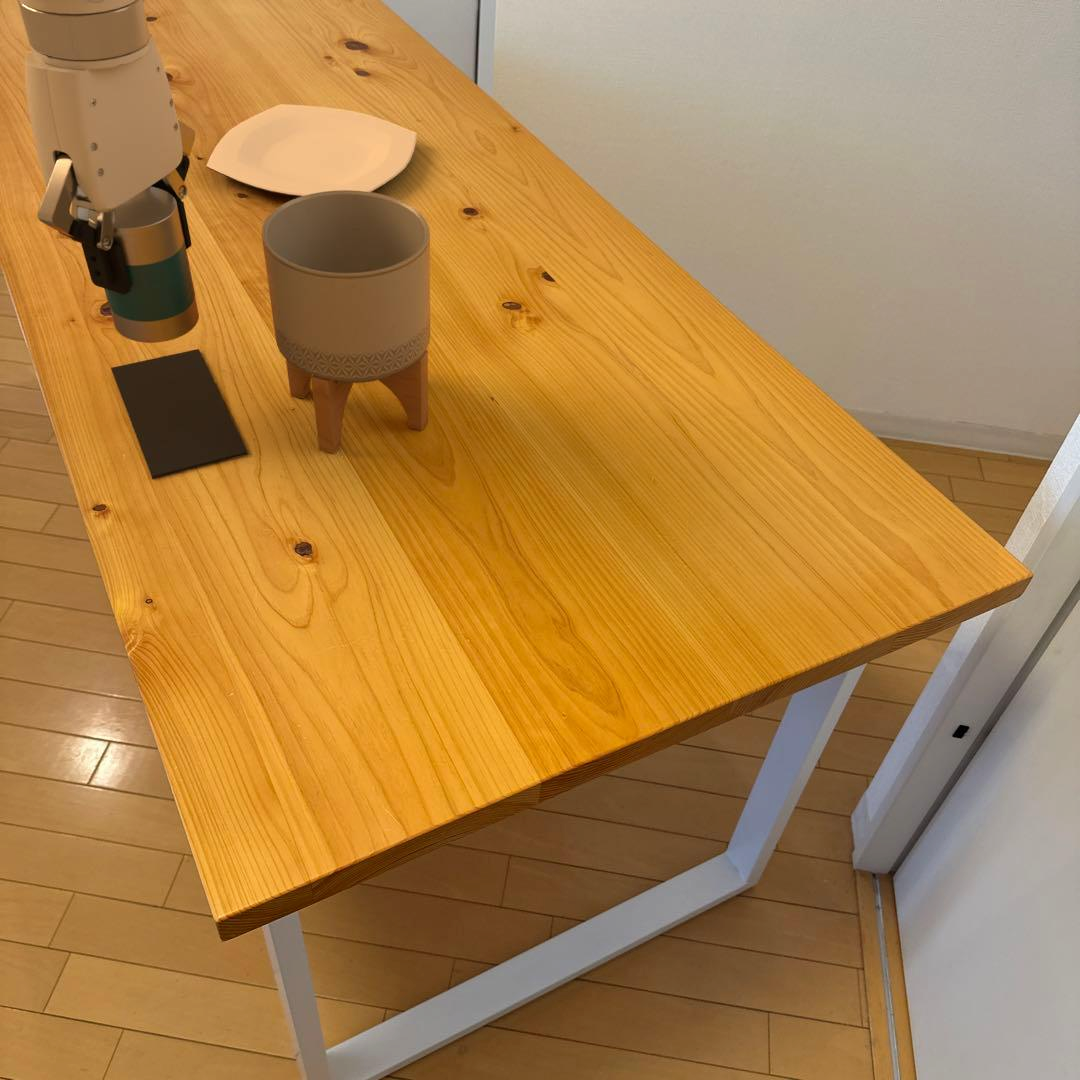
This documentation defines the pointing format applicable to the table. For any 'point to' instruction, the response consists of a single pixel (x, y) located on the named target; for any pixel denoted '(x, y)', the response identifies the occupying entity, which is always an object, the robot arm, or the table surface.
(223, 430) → the black flat rectangular slab
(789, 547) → the table surface
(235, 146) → the plate
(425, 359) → the planter
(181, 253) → the can
